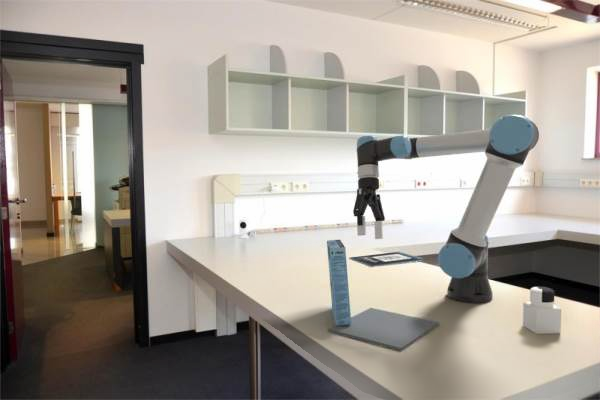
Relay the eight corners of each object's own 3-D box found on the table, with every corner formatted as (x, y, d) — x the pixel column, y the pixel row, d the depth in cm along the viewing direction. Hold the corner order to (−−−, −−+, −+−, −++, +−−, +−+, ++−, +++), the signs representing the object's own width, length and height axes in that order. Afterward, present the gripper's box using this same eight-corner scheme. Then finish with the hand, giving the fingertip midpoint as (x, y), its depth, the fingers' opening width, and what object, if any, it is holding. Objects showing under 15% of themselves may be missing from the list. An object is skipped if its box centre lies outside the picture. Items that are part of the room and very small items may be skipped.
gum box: (351, 325, 131) (346, 246, 130) (333, 326, 131) (328, 248, 130) (346, 307, 150) (341, 239, 149) (330, 308, 150) (326, 240, 150)
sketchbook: (349, 260, 231) (349, 256, 231) (398, 254, 242) (398, 250, 242) (371, 268, 211) (371, 263, 211) (424, 262, 223) (424, 257, 222)
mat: (438, 324, 133) (438, 322, 133) (401, 351, 115) (401, 348, 115) (370, 310, 148) (370, 307, 148) (327, 331, 129) (327, 328, 129)
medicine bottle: (546, 324, 132) (547, 284, 131) (561, 333, 125) (562, 291, 124) (522, 325, 132) (523, 285, 131) (535, 334, 125) (537, 291, 124)
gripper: (374, 186, 175) (376, 240, 171) (342, 173, 155) (343, 234, 151) (392, 183, 171) (394, 239, 167) (361, 169, 151) (363, 232, 147)
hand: (370, 237), depth 159 cm, fingers open, 13 cm apart
